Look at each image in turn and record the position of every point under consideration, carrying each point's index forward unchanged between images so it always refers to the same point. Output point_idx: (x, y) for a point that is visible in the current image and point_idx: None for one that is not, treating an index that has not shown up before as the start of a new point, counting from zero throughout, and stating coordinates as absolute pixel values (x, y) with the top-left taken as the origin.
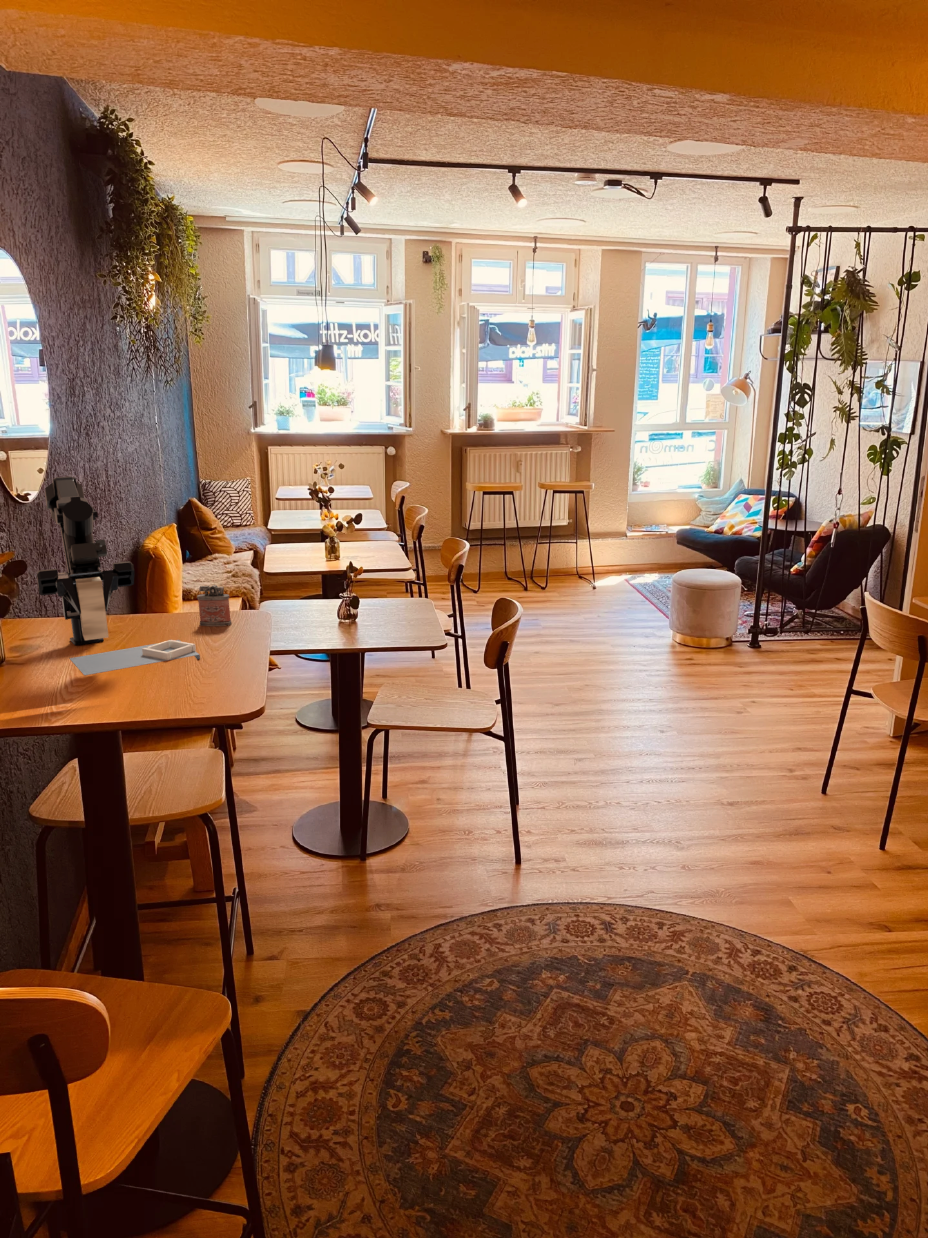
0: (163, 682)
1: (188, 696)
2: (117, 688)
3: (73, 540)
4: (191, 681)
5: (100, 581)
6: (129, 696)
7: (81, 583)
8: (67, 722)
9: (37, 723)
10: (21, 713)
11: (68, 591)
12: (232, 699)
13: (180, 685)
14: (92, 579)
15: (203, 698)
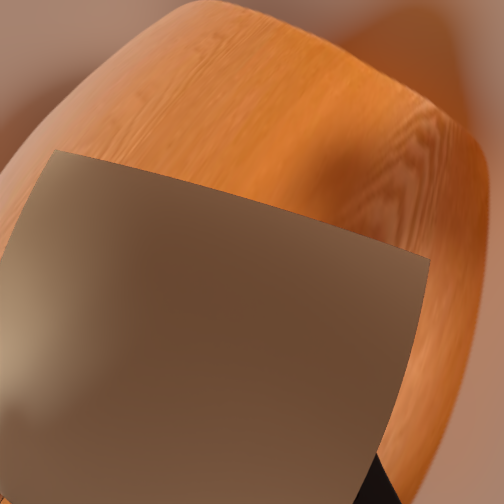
0: (184, 150)
1: (208, 62)
2: (280, 185)
3: None
4: (148, 121)
5: (71, 155)
6: (285, 122)
7: (363, 237)
8: (416, 96)
9: (455, 128)
10: (475, 194)
11: (392, 500)
12: (178, 28)
13: (176, 113)
14: (62, 383)
15: (200, 46)
